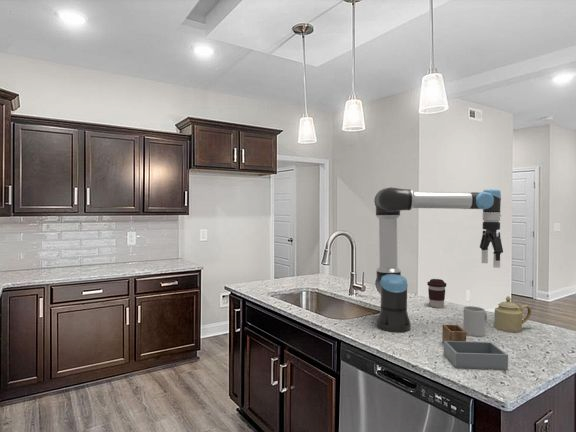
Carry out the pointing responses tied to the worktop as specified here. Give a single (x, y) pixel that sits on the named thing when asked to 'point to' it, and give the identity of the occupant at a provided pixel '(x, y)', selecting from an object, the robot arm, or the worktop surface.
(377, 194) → the robot arm
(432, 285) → the coffee cup
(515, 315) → the beige teapot
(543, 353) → the worktop surface
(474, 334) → the mug
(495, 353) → the grey crate
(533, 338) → the worktop surface
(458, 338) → the walnut crate
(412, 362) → the worktop surface
